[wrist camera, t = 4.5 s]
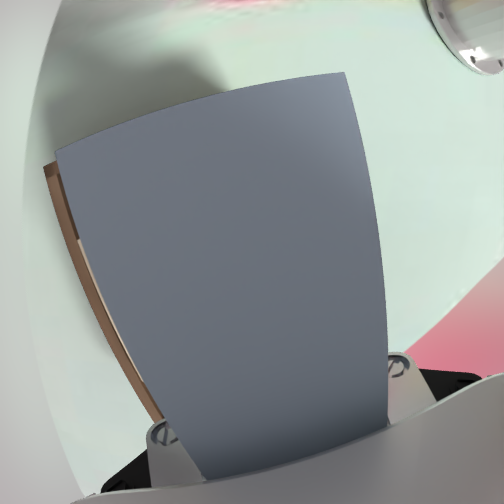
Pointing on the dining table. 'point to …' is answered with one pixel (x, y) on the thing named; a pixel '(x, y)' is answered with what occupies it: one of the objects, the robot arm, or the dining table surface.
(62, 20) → the dining table surface
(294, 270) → the panel
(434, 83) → the dining table surface
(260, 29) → the dining table surface
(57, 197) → the brown wooden open box
